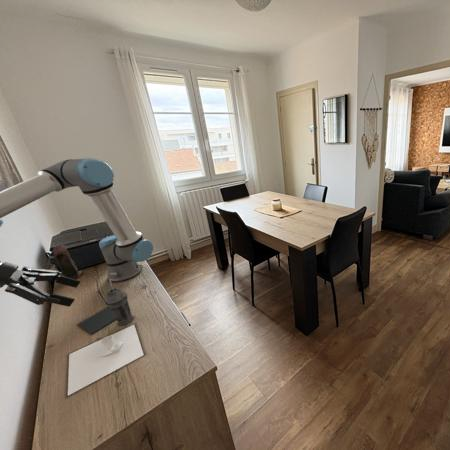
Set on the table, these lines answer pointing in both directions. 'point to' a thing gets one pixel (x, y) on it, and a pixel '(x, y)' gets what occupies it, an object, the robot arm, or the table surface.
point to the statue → (66, 262)
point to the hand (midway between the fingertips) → (75, 293)
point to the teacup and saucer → (102, 358)
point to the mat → (98, 321)
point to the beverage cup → (118, 304)
